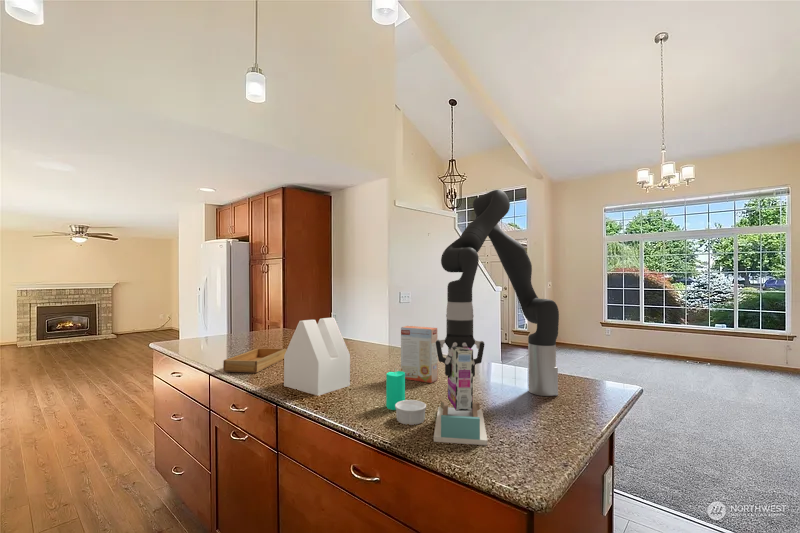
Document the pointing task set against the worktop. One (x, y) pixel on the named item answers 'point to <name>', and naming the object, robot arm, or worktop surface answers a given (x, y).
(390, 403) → the candle
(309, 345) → the slotted house block
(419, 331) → the cracker box
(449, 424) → the slot board
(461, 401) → the candy bar box
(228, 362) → the tray
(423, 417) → the ramekin
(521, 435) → the worktop surface
